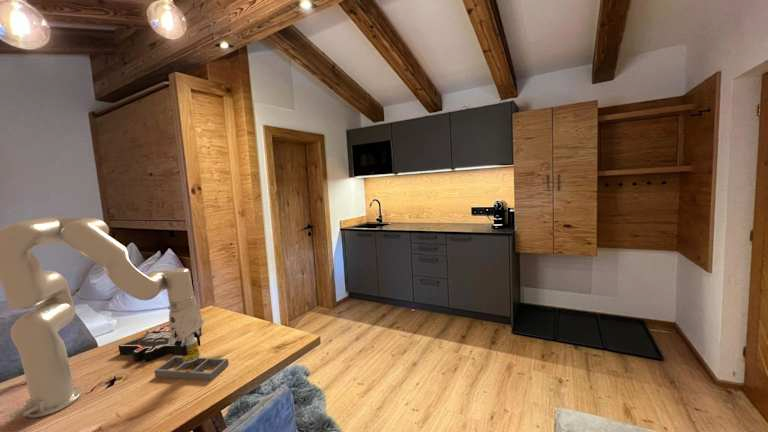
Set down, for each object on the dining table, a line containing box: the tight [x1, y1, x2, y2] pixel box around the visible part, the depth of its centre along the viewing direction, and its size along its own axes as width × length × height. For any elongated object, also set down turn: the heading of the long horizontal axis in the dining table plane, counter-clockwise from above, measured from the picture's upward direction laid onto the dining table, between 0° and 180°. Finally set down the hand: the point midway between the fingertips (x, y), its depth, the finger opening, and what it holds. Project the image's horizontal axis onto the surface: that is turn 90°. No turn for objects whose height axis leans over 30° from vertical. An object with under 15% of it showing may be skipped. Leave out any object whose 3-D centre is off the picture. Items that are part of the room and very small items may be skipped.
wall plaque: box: [118, 324, 203, 363], centre depth 137 cm, size 28×4×30 cm
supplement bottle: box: [182, 333, 201, 363], centre depth 113 cm, size 5×5×10 cm
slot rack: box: [153, 355, 230, 382], centre depth 114 cm, size 9×23×3 cm, turn 80°
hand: (189, 350), depth 113 cm, fingers closed on supplement bottle, 5 cm apart
